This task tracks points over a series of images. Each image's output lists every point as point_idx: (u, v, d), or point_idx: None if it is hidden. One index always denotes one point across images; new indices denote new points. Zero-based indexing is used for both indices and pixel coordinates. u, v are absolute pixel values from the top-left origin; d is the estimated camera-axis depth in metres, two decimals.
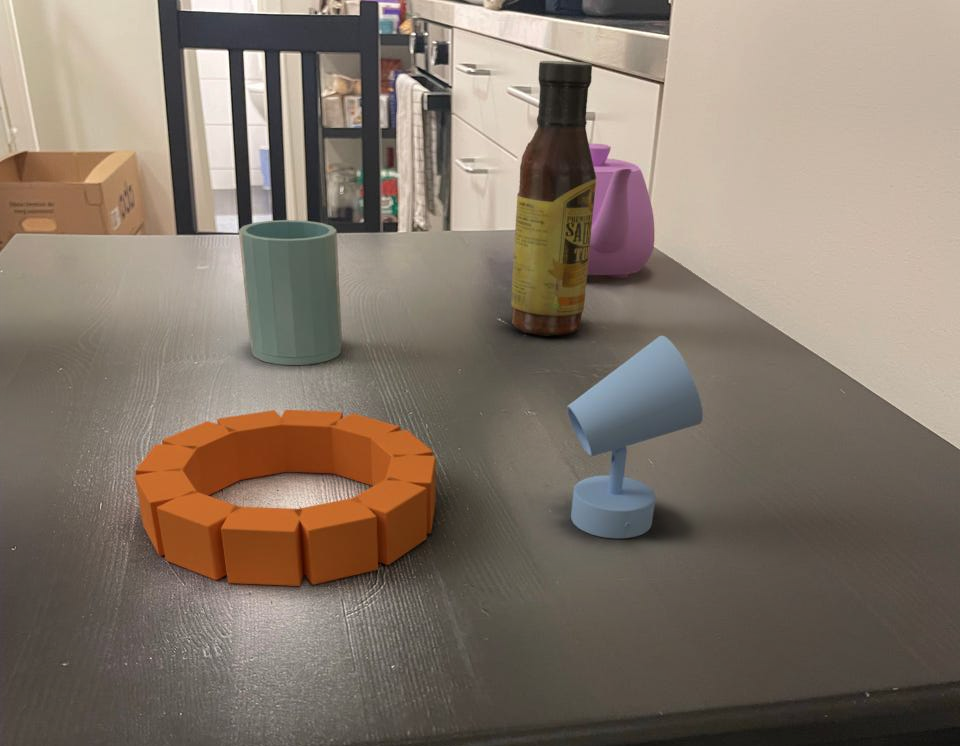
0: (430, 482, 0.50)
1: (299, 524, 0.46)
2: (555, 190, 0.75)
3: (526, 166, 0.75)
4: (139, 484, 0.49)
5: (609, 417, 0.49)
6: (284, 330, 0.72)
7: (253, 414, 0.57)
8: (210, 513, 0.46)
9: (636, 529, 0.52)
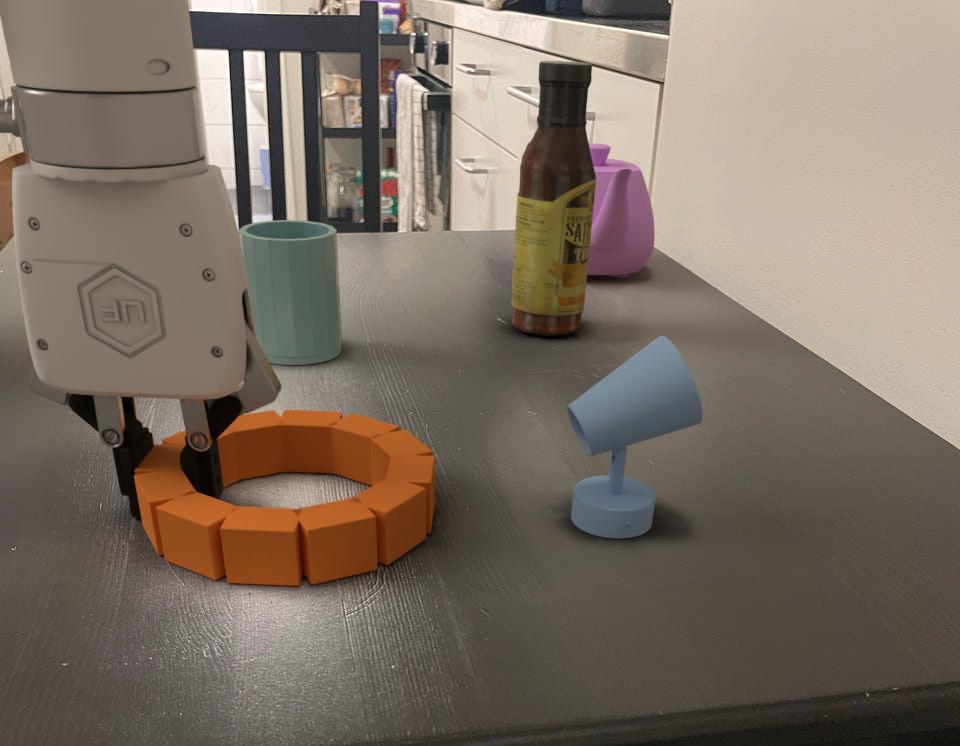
0: (429, 482, 0.50)
1: (298, 524, 0.46)
2: (555, 190, 0.75)
3: (526, 166, 0.75)
4: (138, 484, 0.49)
5: (609, 417, 0.49)
6: (284, 330, 0.72)
7: (253, 414, 0.57)
8: (210, 513, 0.46)
9: (636, 529, 0.52)
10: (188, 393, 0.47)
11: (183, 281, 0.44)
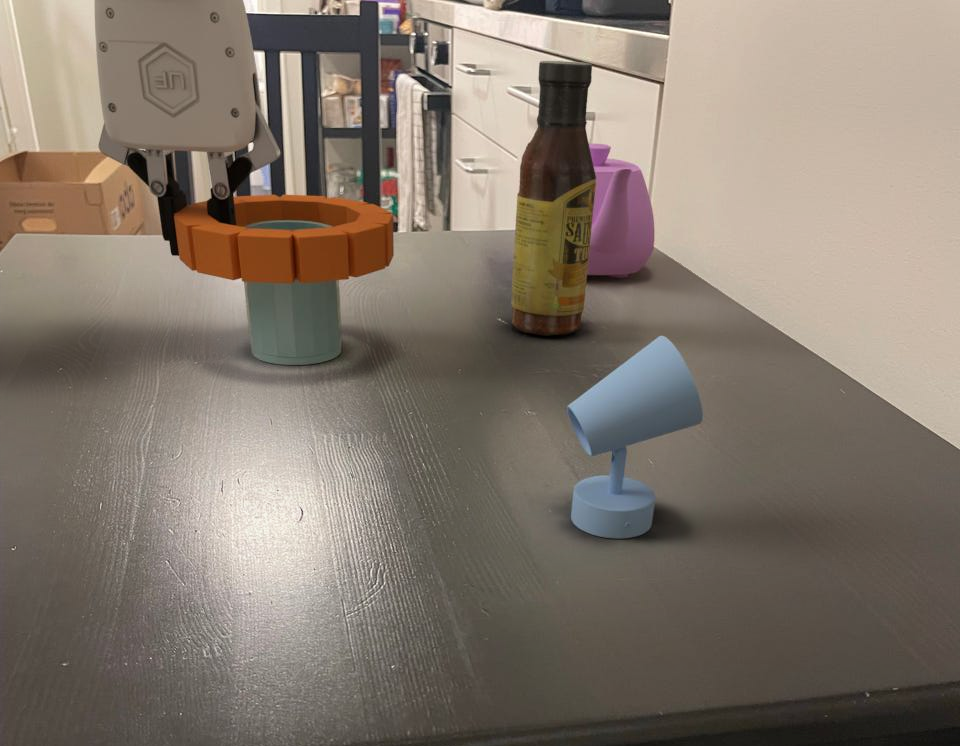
0: (387, 223, 0.69)
1: (292, 236, 0.65)
2: (555, 190, 0.75)
3: (526, 166, 0.75)
4: (178, 219, 0.68)
5: (609, 417, 0.49)
6: (284, 330, 0.72)
7: (259, 195, 0.76)
8: (230, 230, 0.65)
9: (636, 529, 0.52)
10: (214, 146, 0.66)
11: (212, 56, 0.63)
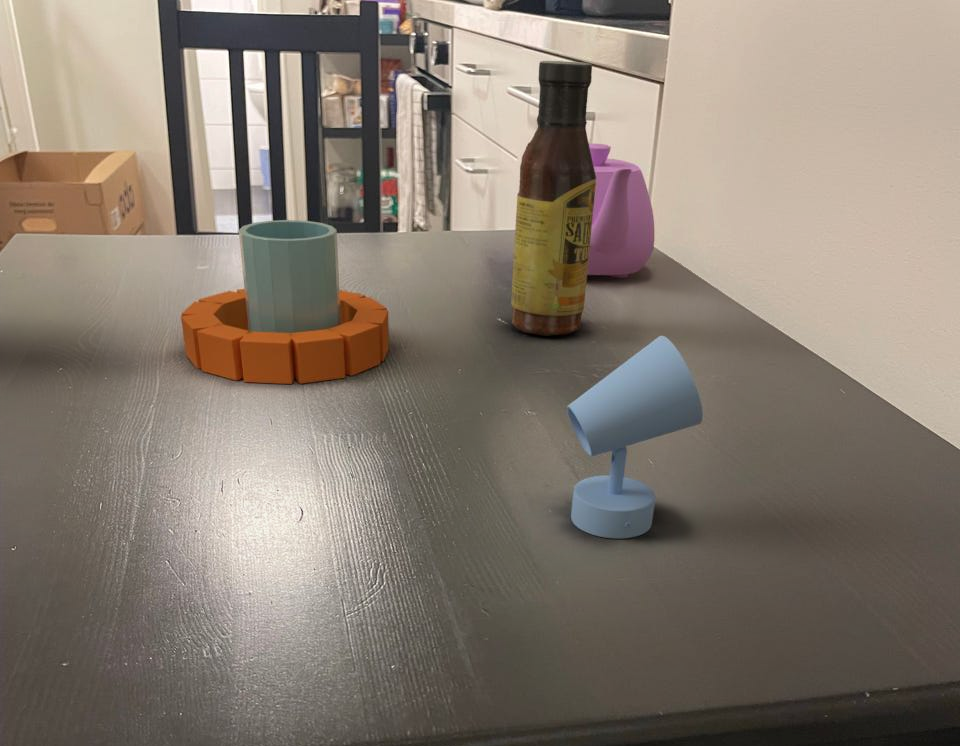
0: (382, 322, 0.73)
1: (291, 340, 0.69)
2: (555, 190, 0.75)
3: (526, 166, 0.75)
4: (184, 320, 0.72)
5: (609, 417, 0.49)
6: (284, 330, 0.72)
7: None
8: (233, 334, 0.70)
9: (636, 529, 0.52)
10: None
11: None
